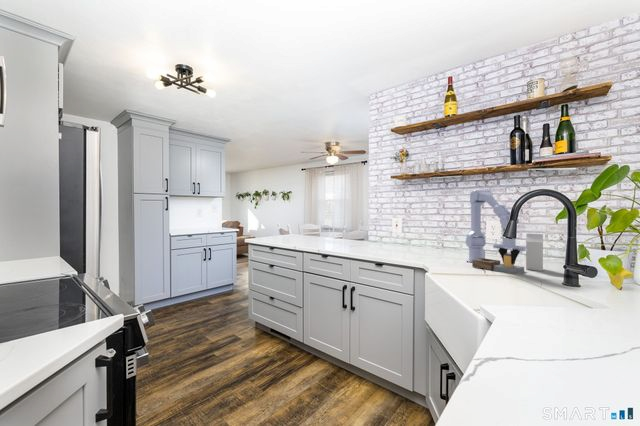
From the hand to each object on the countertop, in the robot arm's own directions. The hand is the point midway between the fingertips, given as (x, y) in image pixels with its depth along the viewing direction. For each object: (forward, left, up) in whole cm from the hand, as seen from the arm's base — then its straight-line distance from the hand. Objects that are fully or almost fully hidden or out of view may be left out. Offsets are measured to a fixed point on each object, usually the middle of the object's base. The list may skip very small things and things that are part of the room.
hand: (508, 263), depth 151 cm
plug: (0, 0, -3) cm, 3 cm away
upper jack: (0, -11, -4) cm, 12 cm away
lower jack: (0, 0, -4) cm, 4 cm away
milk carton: (-16, +6, -4) cm, 17 cm away
